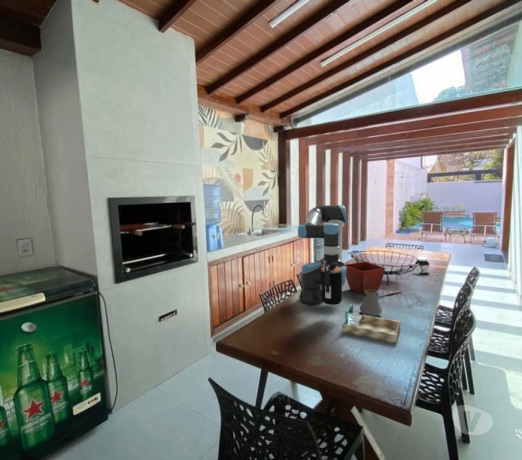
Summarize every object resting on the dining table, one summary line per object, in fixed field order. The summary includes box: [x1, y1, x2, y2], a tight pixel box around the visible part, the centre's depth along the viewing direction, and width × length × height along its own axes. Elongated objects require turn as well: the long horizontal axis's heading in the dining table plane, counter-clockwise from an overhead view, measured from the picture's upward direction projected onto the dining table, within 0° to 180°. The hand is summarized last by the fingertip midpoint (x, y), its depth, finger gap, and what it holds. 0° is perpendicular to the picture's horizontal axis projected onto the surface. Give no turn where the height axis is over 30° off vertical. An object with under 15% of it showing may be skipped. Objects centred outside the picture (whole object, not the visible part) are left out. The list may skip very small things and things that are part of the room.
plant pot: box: [344, 261, 386, 296], centre depth 199 cm, size 19×19×17 cm
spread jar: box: [411, 257, 430, 275], centre depth 234 cm, size 12×11×12 cm
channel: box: [341, 312, 401, 344], centre depth 144 cm, size 24×15×4 cm, turn 60°
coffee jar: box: [321, 265, 343, 306], centre depth 157 cm, size 11×11×18 cm
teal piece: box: [343, 303, 362, 327], centre depth 148 cm, size 6×13×9 cm, turn 150°
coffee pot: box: [359, 290, 403, 317], centre depth 159 cm, size 21×12×15 cm, turn 55°
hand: (331, 294), depth 158 cm, fingers closed on coffee jar, 10 cm apart
